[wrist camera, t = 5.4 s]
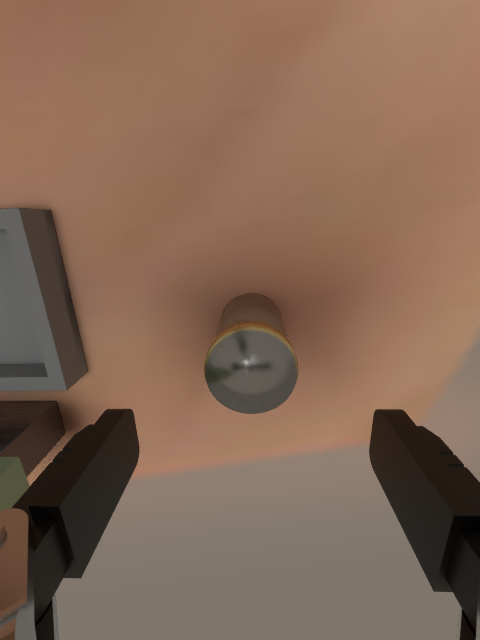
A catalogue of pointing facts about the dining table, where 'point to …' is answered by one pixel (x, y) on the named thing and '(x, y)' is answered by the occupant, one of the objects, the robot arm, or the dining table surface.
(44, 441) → the control unit
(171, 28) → the dining table surface
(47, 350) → the parts tray
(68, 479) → the robot arm
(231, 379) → the pin
